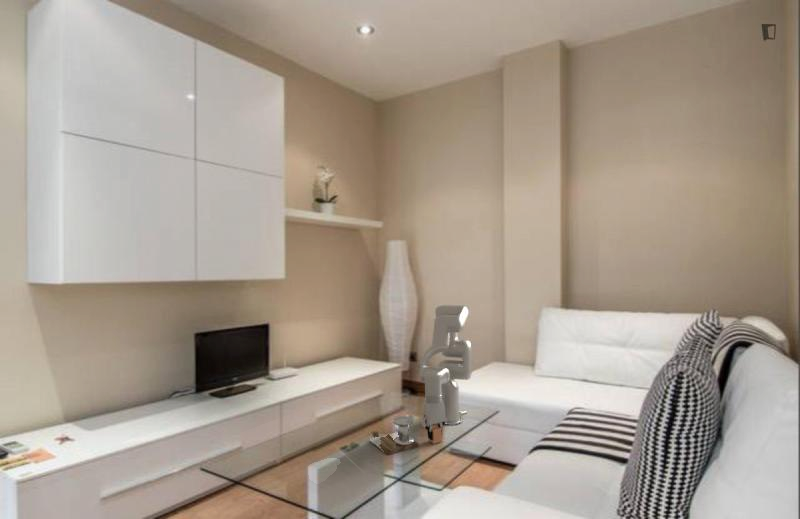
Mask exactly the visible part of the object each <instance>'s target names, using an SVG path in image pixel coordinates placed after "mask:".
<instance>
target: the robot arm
mask: <svg viewBox="0 0 800 519" xmlns="http://www.w3.org/2000/svg"><path fill="white" fill-rule="evenodd" d="M434 312H435V313H434V314H435V316H436V317H435V318H434V322H433V323H434V324H433V332H432V339H431V340H432V341H431V342H432V343H431V346H430V347H428V349H426V351H425V352H424V353H423V355H422V358H421V360H420V368H419V379H420V380H421V382H422V383H423V382H424V392H425V394H424V396H425V400H424V401H423V404H422V405H423V406H422V422H421V424H420V426H421V427H422V428H425V430H427V438H428V440H429V439H430V440H433V431H432V427H433V426H434V425H435V424H436V426H437V427H439V428H441V431H442V432H443V428H444V426H445V423H447V424H449V425H448V426H456V425H460V424H461V423H462V422H463V416H465V415H467V414H468V412H467V411H466V410H460V394H459V393H460V392H459V390H460V389H459V386H458V383H457V381H456V380H458V381H459V380H460V381H467V380H470V379H471V377H472V372H473V371H472V370H473V369H472V368H473V348H472V343H471V341H469V340H468V339H463V338H462V339H461V338H459V336H458V335H459V333H461V332H463V330H464V328H465V325H466V323H467V321H468V318H469V309H468V307H467V306H465V305H453V304H452V305H445V304H444V305H438V306H437V307H436V308H435V311H434ZM440 353H441V354H442V356H444V357H445V358H452V359H443V360H440V361H439V363H438V364H437V366H429V362H430V360H431V358H433V357H434V356H435V355H437V354H440ZM453 358H454V359H453ZM455 358H457V359H459V358H460V359H461V360H455ZM459 423H460V424H459Z"/></svg>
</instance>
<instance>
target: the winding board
mask: <svg viewBox="0 0 800 519" xmlns="http://www.w3.org/2000/svg"><path fill="white" fill-rule="evenodd" d="M371 432H372V436H371V437H374V438H375V437H379V435H380V433H379V431H378V430H376V431H375V430H374V431H371ZM380 440H381V444H380V445H379V446H380V447H381V449H382V450H383V451H384V452H383V451H382V452H383V453H384V454H385V455H387V456H389V455H393V454H396V453H400V452H402V451H406V450H410V449H414V448H417V447H419V442H418V441H415V440H414V443H413V444H411V445H407V446H400V445H396V444H395V443H394V440H393V438H392V437H391V436H390V435H389V434H388V435H387V436H386V437H381V438H380Z"/></svg>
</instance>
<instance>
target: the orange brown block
mask: <svg viewBox="0 0 800 519" xmlns="http://www.w3.org/2000/svg"><path fill="white" fill-rule="evenodd" d="M432 431H433V440H430V439H429V438H428V442H430V443H432V445H435V444H438V443H442V442H443V439H442V438H443V430H442V431H441V428H439V427H438V425H432Z"/></svg>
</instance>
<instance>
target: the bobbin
mask: <svg viewBox="0 0 800 519" xmlns="http://www.w3.org/2000/svg"><path fill="white" fill-rule="evenodd" d="M413 423H414V418H413V417H412V416H405V415H404V416H398V417H395V418H393V424H394V425H396V426H397V428H398V430H397V431H398V435H399V437H396V438H395V439H394V443H395V444H396V445H400V446H407V445H411V444H413V443H414V441H415V438H414V437H413V436H411V435H410V425H412V424H413Z"/></svg>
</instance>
